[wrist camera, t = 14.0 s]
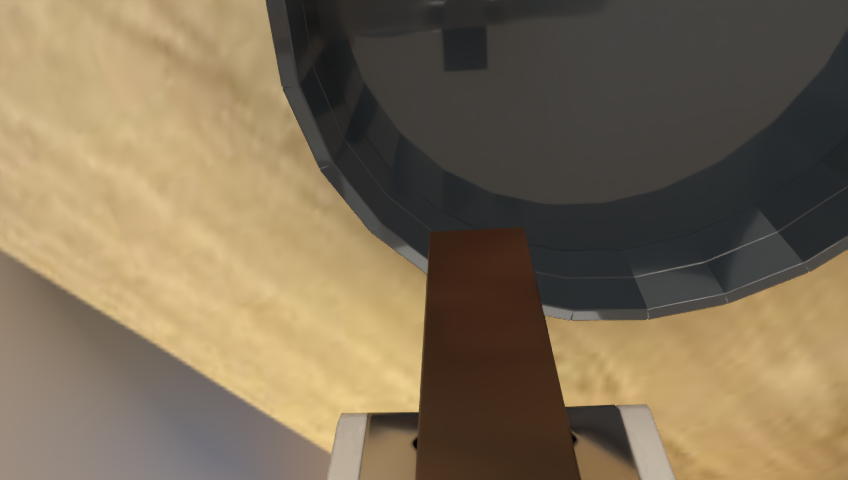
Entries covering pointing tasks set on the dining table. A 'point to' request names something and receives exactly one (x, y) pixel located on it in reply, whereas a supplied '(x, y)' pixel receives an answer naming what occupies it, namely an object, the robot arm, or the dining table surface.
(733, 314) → the dining table surface
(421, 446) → the stick
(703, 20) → the bowl
